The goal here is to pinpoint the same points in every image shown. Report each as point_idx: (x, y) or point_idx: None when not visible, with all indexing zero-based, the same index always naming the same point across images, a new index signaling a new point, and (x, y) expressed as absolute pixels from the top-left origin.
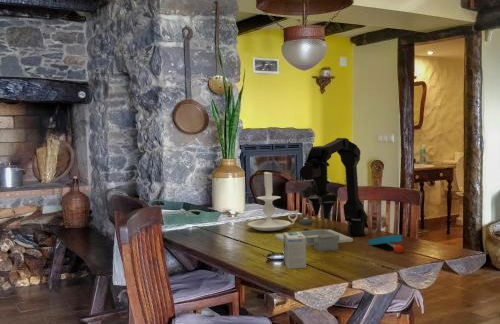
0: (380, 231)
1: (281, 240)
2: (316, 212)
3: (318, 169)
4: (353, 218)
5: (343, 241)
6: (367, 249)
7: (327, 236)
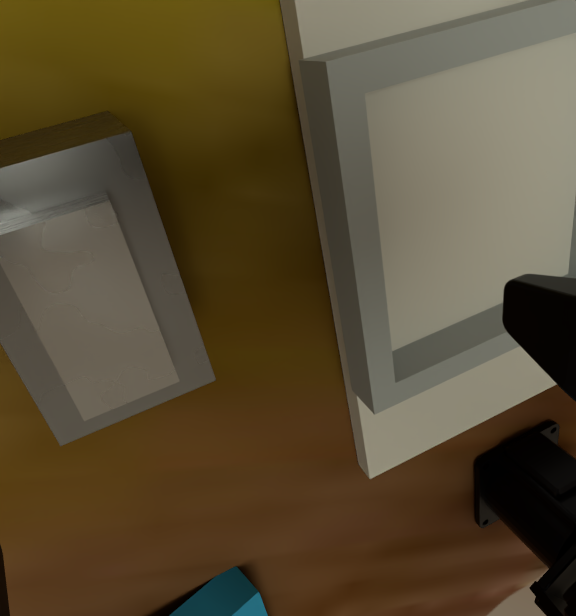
0: (535, 569)
1: None
2: (558, 337)
3: None
4: None
5: (352, 408)
6: (64, 581)
7: (41, 334)
